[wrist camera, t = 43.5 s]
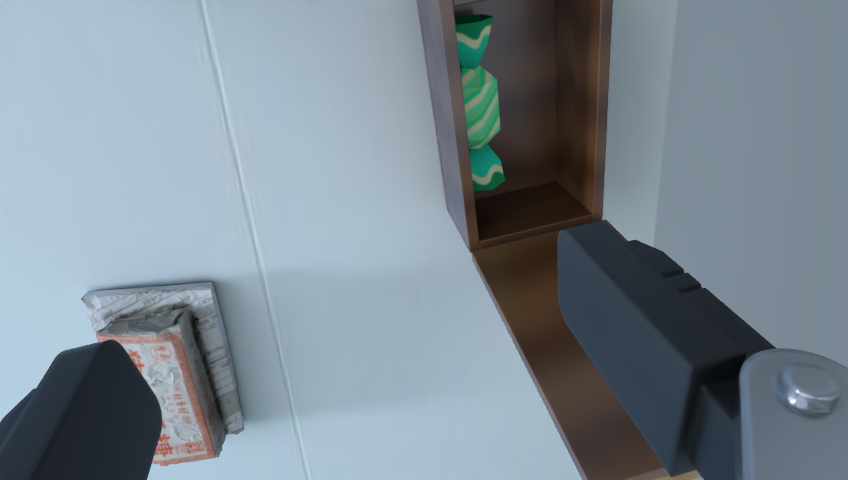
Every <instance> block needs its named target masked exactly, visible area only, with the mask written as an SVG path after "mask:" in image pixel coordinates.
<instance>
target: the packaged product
mask: <svg viewBox="0 0 848 480" xmlns="http://www.w3.org/2000/svg"><path fill="white" fill-rule="evenodd" d="M81 300H82V302H83V304H84V306H85V308H86V311H87V313H88V318H89V321H90V323H91V325H92V327H93V329H94V331H95V333H96V337H97V340H98V342H102V341H106V340H115V341H117V342H119V343H120V344H121V345H122V346H123V347H124V349H125V350H126V352H127V353H128V355H129V356H130V358H131V359H132V361H133V362H134V364H135V365H136V367H137V368H138V370H139V371H140V373H141V374H142V376H143V377H144V379H145V380H146V382H147V383H148V385H149V386H150V388H151V389H152V391H153V392H154V394H155V395H156V397H157V399H158V401H159V404H160V407H161V411H162V431H161V435H160V438H159V441H158V445H157V448H156V451H155V454H154V458H153V461H152V463H154V464H159V465H160V466H168V465H169V464H178V463H181V462H194V461H200V460H205V459H211V458H216V457H219V454H220V452H221V451H222V445H223V443H224V441H225V437H226V434H238V433H240V432H241V431H243V430H244V420H243V416H242V411H241V407H240V403H239V397H238V390H237V384H236V377H235V371H234V366H233V360H232V355H231V351H230V347H229V343H228V339H227V336H226V332H225V328H224V324H223V320H222V316H221V312H220V308H219V304H218V301H217V297H216V294H215V290H214V287H213V284H212V282H203V283H191V284H180V285H168V286H155V287H142V288H129V289H115V290H102V291H90V292H87V293H86V294H85V295H84V296H83V297H82V298H81Z"/></svg>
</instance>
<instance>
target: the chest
mask: <svg viewBox="0 0 848 480" xmlns="http://www.w3.org/2000/svg"><path fill="white" fill-rule="evenodd" d="M612 2H613V0H417V5H418V11H419V18H420V25H421V32H422V39H423V46H424V53H425V60H426V67H427V73H428V80H429V87H430V94H431V101H432V108H433V115H434V122H435V129H436V136H437V142H438V149H439V156H440V163H441V170H442V177H443V184H444V191H445V198H446V205H447V210H448V212H449V214H450V216H451V218H452V219H453V221H454V223H455V225H456V227H457V229H458V231H459V233H460V234H461V236H462V238H463V240H464V242H465V244H466V246H467V248H468V250H469V251H470V253H471V252H474V251H478V250H482V249H487V248H491V247H495V246H499V245H503V244H507V243H511V242H515V241H520V240H524V239H528V238H532V237H536V236H540V235H544V234H548V233H553V232H557V231H561V230H564V229H568V228H572V227H576V226H580V225H584V224H588V223H592V222H596V221H602V215H603V194H604V173H605V151H606V130H607V109H608V87H609V66H610V45H611V23H612ZM477 14H484V15H489V16H493V21H492V25H491V30H490V34H489V39H488V43H487V46H486V49H485V51H484V54H483V56H482V59H481V61H480V64H479V65H480V66H481V67H482V68H483V69H485V70H486V71H487V72H489V73H490V74H491V75H492V76H494V77H495V78H496V79H497V87H498V101H499V115H500V129H501V130H500V131H499V132H498V133H497V134H496V135H495V136H494V137H493V138H492V139H491V140H490V141H489V142H488V143H487V144H488V145H489V147H490V148H491V149H492V150H493V152H494V153H495V154H496V155H497V156H498V158H499V159H500V160H501V165H502V169H503V174H504V178H505V181H504V182H503V183H501V184H500V185H498V186H497V187H496V188H494V189H493V190H479V191H474V190H473V180H472V171H471V162H470V153H469V144H468V135H467V126H466V117H465V108H464V99H463V89H462V80H461V71H460V62H459V53H458V44H457V35H456V26H455V17H461V16H469V15H477Z"/></svg>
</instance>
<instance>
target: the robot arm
mask: <svg viewBox="0 0 848 480" xmlns="http://www.w3.org/2000/svg"><path fill="white" fill-rule="evenodd" d="M557 257H558V300H559V305H560V309H561V312H562V315H563V318H564V320H565V322H566V324H567V326H568V327H569V329H570V330H571V332H572V333H573V335H574V336H575V338H576V339H577V341H578V342H579V344H580V345H581V346H582V348H583V349H584V351H585V352H586V354H587V355H588V357H589V358H590V360H591V361H592V362H593V364H594V365H595V367H596V368H597V370H598V371H599V373H600V374H601V376H602V377H603V379H604V380H605V381H606V383H607V384H608V386H609V387H610V389H611V390H612V392H613V393H614V395H615V396H616V397H617V399H618V400H619V402H620V403H621V405H622V406H623V408H624V409H625V411H626V412H627V414H628V415H629V416H630V418H631V419H632V421H633V422H634V424H635V425H636V427H637V428H638V430H639V431H640V432H641V434H642V435H643V437H644V438H645V440H646V441H647V443H648V444H649V446H650V447H651V449H652V450H653V451H654V453H655V454H656V456H657V457H658V459H659V460H660V462H661V463H662V465H663V466H664V467H665V469H666V470H667V472H668V473H669V475H670V476H671V477H674V476H678V475H681V474H684V473H688V472H691V471H694V470H697V471H698V472H699V474H700V475H701V476H702V478H703V479H704V480H848V368H847V367H845V366H843V365H841V364H839V363H837V362H835V361H833V360H831V359H829V358H826V357H824V356H820V355H817V354H814V353H811V352H807V351H802V350H796V349H782V348H781V349H780V348H775V347H774V346H773V345H772V344H770V343H769V342H768V341H767V340H766V339H765V338H763V337H762V336H761V335H760V334H759V333H757V332H756V331H755V330H754V329H753V328H752V327H751V326H749V325H748V324H747V323H746V322H745V321H744V320H742V319H741V318H740V317H739V316H738V315H737V314H735V313H734V312H733V311H732V310H731V309H729V308H728V307H727V306H726V305H725V304H724V303H722V302H721V301H720V300H719V299H717V297H715V296H714V295H713V294H712V293H711V292H710V291H708V290H707V289H706V288H702V287H701V284H700V283H699V282H698V281H697V280H696V279H694V278H693V277H692V276H691V275H690V274H689V273H684V270H683V268H681V267H680V266H679V265H678V264H677V263H676V262H674V261H673V260H672V259H671V258H670V257H668V256H667V255H666V254H665V253H664V252H662V251H660V250H658V249H656V248H653V247H651V246H649V245H646V244H644V243H642V242H639V241H637V240H632V241H628V242H626V241H624V240H623V239H622V238H621V237H620V236H619V235H618V234H617V233H616V232H615V231H614V230H613V229H611V228H610V227H609V226H608V225H607V224H606V223H605V222H603V221H596V222H592V223H588V224H584V225H580V226H576V227H572V228H568V229H564V230H561V231H560V232H559V234H558V239H557ZM161 431H162V411H161V407H160V404H159V401H158V399H157V397H156V395H155V394H154V392H153V391H152V389H151V388H150V386H149V385H148V383H147V382H146V380H145V379H144V377H143V376H142V374H141V373H140V371H139V370H138V368H137V367H136V365H135V364H134V362H133V361H132V359H131V358H130V356H129V355H128V353H127V352H126V350H125V349H124V347H123V346H122V345H121V344H120V343H119V342H117V341H115V340H106V341H102V342H98V343H94V344H90V345H86V346H82V347H77V348H73V349H69V350H65V351H63V352H61V353H59V354H58V355H57V356H56V358H55V359H54V361H53V362H52V364H51V366H50V367H49V369H48V370H47V372H46V374H45V375H44V377H43V378H42V380H41V382H40V383H39V385H38V387H37V388H36V389H33V390H32V391H31V392H30V393H29V394H28V395H27V396H26V397H25V398H24V399H23V400H21V401H20V402H19V403H18V404H17V405H16V406H15V407H14V408H13V409H12V410H11V411H10V412H9V413H8V414H7V415H6V416H5V417H4V418H3V419H2V421H1V422H0V480H147V477H148V474H149V471H150V467H151V464H152V461H153V458H154V454H155V451H156V448H157V445H158V441H159V438H160V435H161Z"/></svg>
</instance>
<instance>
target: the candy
mask: <svg viewBox="0 0 848 480" xmlns="http://www.w3.org/2000/svg"><path fill="white" fill-rule="evenodd" d="M492 21H493V16H489V15H484V14H477V15H469V16H461V17H455V26H456V35H457V44H458V53H459V62H460V71H461V80H462V89H463V99H464V108H465V117H466V126H467V135H468V144H469V153H470V162H471V171H472V180H473V190H474V191H479V190H493V189H494V188H496V187H497V186H498V185H500V184H501V183H503V182H504V181H505V178H504V174H503V169H502V165H501V160H500V159H499V158H498V156H497V155H496V154H495V153H494V152H493V150H492V149H491V148H490V147H489V145H488V144H487V143H488V142H489V141H490V140H491V139H492V138H493V137H494V136H495V135H496V134H497V133H498V132H499V131H500V130H501V129H500V115H499V101H498V87H497V79H496V78H495V77H494V76H492V75H491V74H490V73H489V72H487V71H486V70H485V69H483V68H482V67H481V66H480V65H479V64H480V61H481V59H482V56H483V54H484V51H485V49H486V46H487V43H488V39H489V34H490V30H491V25H492Z"/></svg>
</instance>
